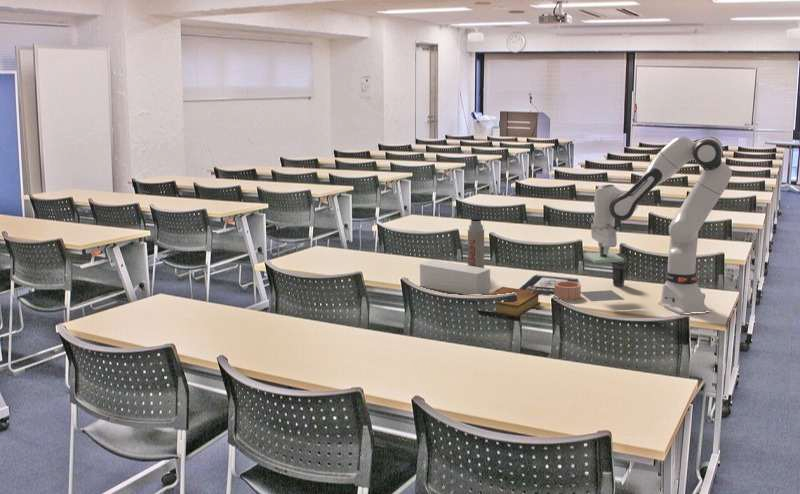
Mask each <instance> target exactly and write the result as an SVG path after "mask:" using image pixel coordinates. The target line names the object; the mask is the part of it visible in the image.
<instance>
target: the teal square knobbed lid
mask: <svg viewBox="0 0 800 494" xmlns="http://www.w3.org/2000/svg"><path fill="white" fill-rule="evenodd" d="M603 250H604V247H600V252H597V253H596V252H592V253H591V252H590V253H584V254H583V257H584V258H585V259H587V260H589V261H590V262H592V263H594V264H599V263H600V264H601V263H611V262H619V261H624V258H622V257H620V256H618V255H616V254H617V253H614V252H612V251H611V252H609V251H608V254H607V255H605V254H603Z"/></svg>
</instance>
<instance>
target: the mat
mask: <svg viewBox="0 0 800 494" xmlns="http://www.w3.org/2000/svg"><path fill="white" fill-rule="evenodd" d="M581 295H582V296H584V297H585V298H587V300H589V301H591V302H603V301H604V302H605V301H623V300H625V298H623V297H622V296H621V295H619V294H617V293H616V292H615V291H613V290H593V291H581Z"/></svg>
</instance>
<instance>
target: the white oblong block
mask: <svg viewBox="0 0 800 494" xmlns="http://www.w3.org/2000/svg"><path fill="white" fill-rule="evenodd" d="M490 279H491V268H486V267H484V268H480V267H474V266H468V264H467V265H466V264H460V263H453V262H450V261H449V262H448V261H443V260H436V259H432V260H428V261H426V262H425V261H424V262H422V263H420V264H419V282H420V283H419V285H421V286H420V287H423V286H426V287H425V288H429V287H430V288H431V289H433V290H434V289H435V290H438V291H439V290H441V291H443V292H444V291H446V292H451V293H456V294H460V293H465V294H464V295H466V294H482V295H485V294H487V293H489V291H490V292H491V280H490ZM484 293H485V294H484Z"/></svg>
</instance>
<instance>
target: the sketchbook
mask: <svg viewBox="0 0 800 494" xmlns="http://www.w3.org/2000/svg"><path fill="white" fill-rule="evenodd" d="M561 281H571V282H577V283H579V281H580V280H579V278H576V277H575V278H574V277H567V276H566V277H565V276H563V277H562V276H561V277H560V276H556V275H555V276H553V275H544V274H540V275H539V274H535V275H533V276H532V277H530V279H528V280H527V281H526V282H525V283H523V285H522V286H520V287H519V288H518V289H522V290H529V291H536V292H540V294H543V295H542V296H548V295H550V296H551V297H552V296H554V292H555V283H557V282H561ZM550 296H549V297H550Z"/></svg>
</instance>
